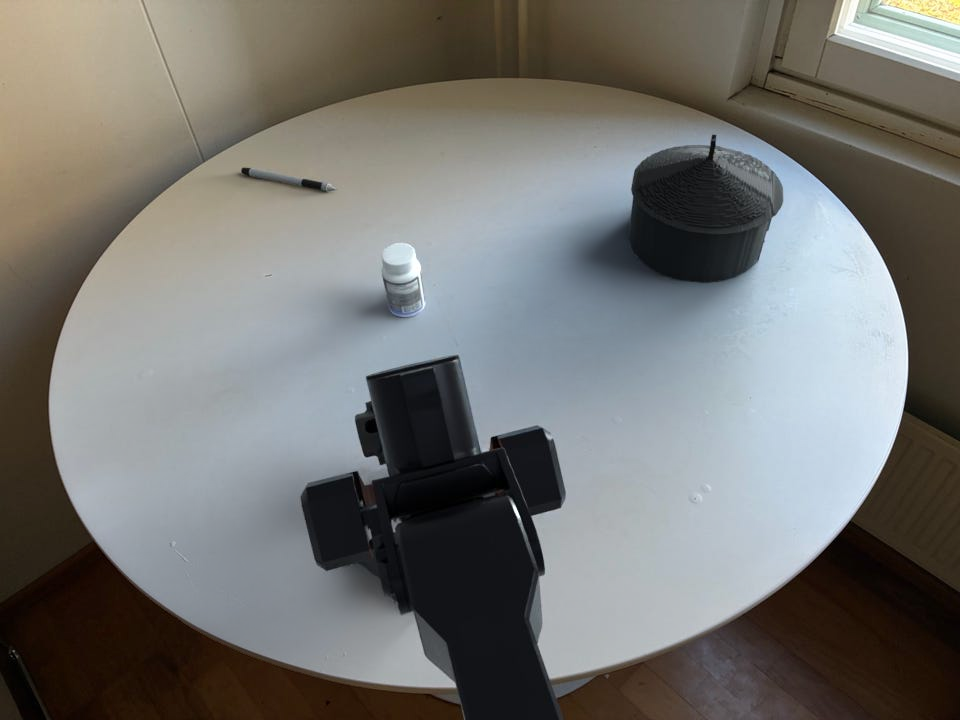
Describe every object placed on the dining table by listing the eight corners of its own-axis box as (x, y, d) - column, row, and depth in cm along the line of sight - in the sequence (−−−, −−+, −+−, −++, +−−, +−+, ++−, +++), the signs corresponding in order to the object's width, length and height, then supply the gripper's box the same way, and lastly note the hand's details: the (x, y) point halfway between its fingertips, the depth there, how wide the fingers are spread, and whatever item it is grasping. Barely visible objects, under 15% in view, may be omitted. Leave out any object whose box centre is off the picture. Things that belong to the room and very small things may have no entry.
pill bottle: (395, 289, 98) (386, 237, 91) (430, 295, 97) (423, 243, 90) (382, 315, 95) (372, 263, 88) (418, 321, 94) (410, 269, 87)
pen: (246, 171, 117) (243, 164, 116) (340, 190, 113) (339, 183, 112) (241, 176, 117) (239, 169, 116) (336, 195, 112) (334, 188, 111)
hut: (768, 294, 94) (800, 192, 82) (619, 276, 97) (630, 177, 86) (767, 203, 105) (794, 104, 94) (633, 191, 109) (645, 93, 98)
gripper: (556, 362, 50) (511, 357, 65) (269, 431, 47) (293, 409, 63) (593, 526, 51) (540, 483, 66) (312, 603, 48) (325, 540, 63)
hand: (426, 476), depth 64 cm, fingers open, 9 cm apart
